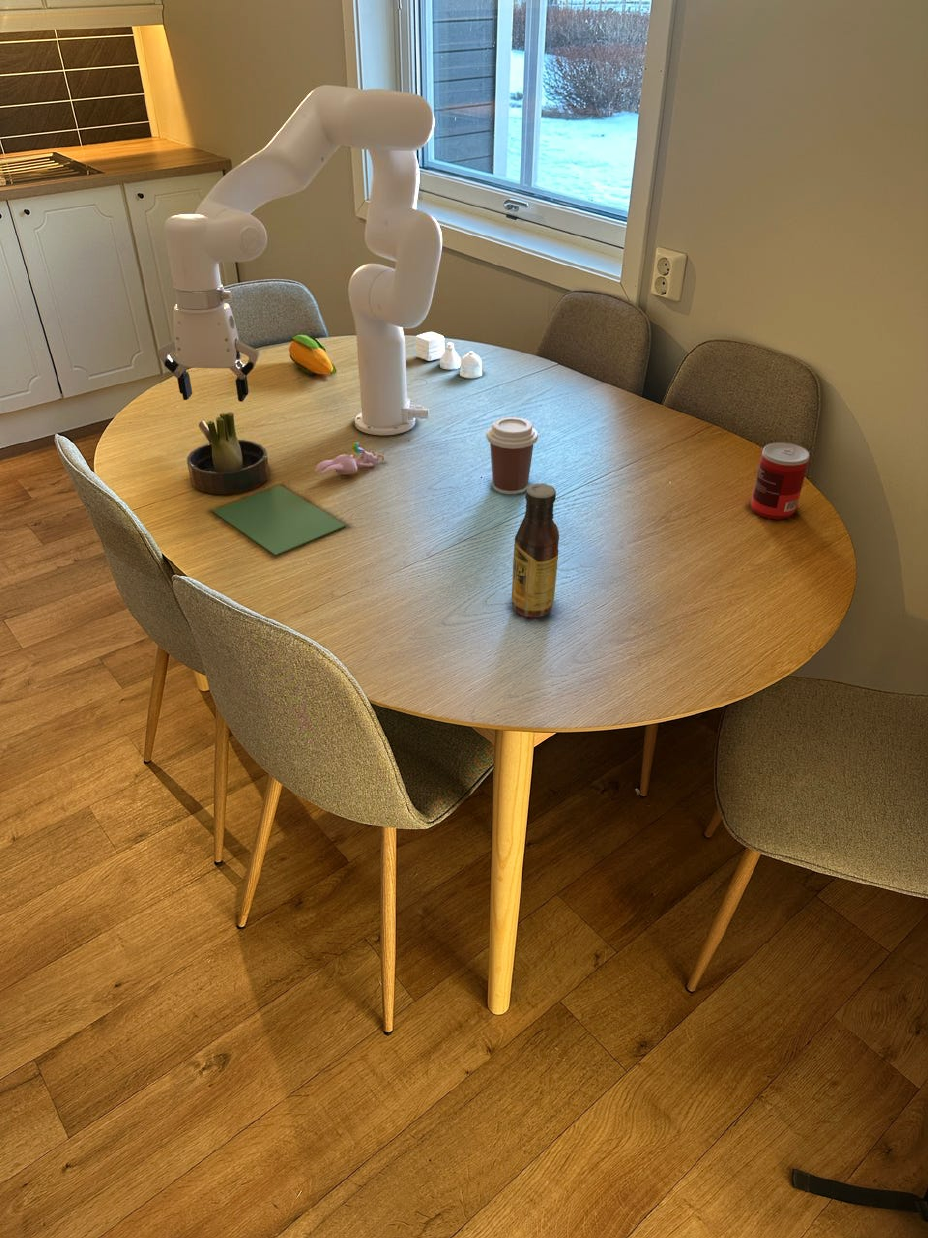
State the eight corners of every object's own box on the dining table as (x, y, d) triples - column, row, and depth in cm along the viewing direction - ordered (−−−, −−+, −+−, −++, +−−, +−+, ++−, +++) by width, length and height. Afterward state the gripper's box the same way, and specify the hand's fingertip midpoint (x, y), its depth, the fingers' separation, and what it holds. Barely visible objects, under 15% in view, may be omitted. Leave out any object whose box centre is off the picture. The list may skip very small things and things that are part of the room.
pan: (276, 461, 168) (273, 440, 166) (260, 496, 157) (256, 474, 154) (203, 460, 169) (199, 438, 166) (181, 495, 157) (177, 472, 155)
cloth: (345, 526, 148) (345, 525, 148) (275, 556, 141) (275, 554, 140) (280, 486, 160) (280, 485, 160) (212, 511, 152) (211, 510, 152)
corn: (307, 324, 212) (344, 348, 198) (312, 355, 216) (348, 380, 203) (278, 332, 209) (314, 356, 195) (284, 363, 213) (320, 388, 200)
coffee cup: (542, 480, 162) (546, 419, 155) (524, 501, 156) (527, 439, 149) (497, 471, 165) (498, 410, 158) (477, 491, 159) (478, 429, 152)
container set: (415, 357, 216) (415, 335, 212) (432, 352, 219) (431, 330, 215) (470, 379, 204) (470, 356, 200) (486, 374, 206) (487, 351, 203)
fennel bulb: (218, 484, 160) (207, 423, 153) (211, 473, 163) (200, 413, 156) (249, 478, 162) (240, 416, 155) (242, 467, 165) (232, 407, 158)
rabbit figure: (368, 462, 171) (306, 475, 161) (369, 432, 168) (307, 444, 158) (389, 472, 168) (328, 486, 158) (392, 442, 165) (330, 455, 155)
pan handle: (223, 449, 166) (222, 441, 165) (214, 451, 166) (212, 443, 165) (207, 427, 175) (206, 418, 174) (198, 429, 174) (196, 420, 173)
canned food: (796, 502, 156) (810, 445, 149) (794, 523, 150) (809, 465, 143) (751, 495, 158) (764, 439, 151) (748, 516, 152) (761, 458, 145)
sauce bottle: (508, 597, 131) (513, 477, 120) (549, 595, 132) (558, 475, 120) (514, 622, 126) (520, 500, 114) (557, 620, 126) (567, 498, 115)
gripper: (257, 292, 146) (268, 391, 156) (154, 290, 147) (172, 388, 157) (246, 305, 140) (259, 407, 150) (139, 302, 141) (159, 404, 151)
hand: (215, 397), depth 153 cm, fingers open, 9 cm apart
